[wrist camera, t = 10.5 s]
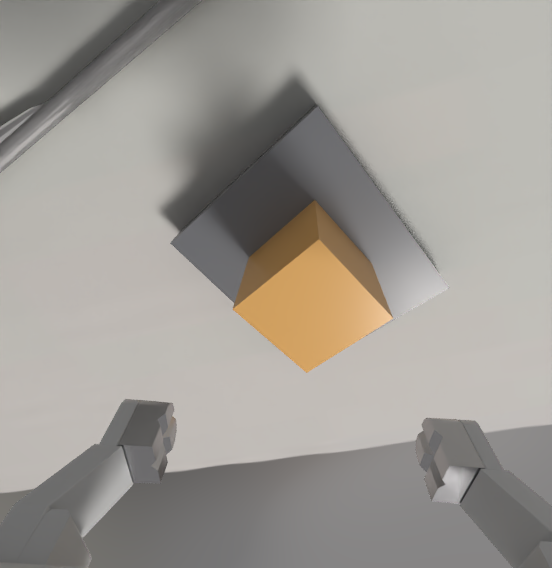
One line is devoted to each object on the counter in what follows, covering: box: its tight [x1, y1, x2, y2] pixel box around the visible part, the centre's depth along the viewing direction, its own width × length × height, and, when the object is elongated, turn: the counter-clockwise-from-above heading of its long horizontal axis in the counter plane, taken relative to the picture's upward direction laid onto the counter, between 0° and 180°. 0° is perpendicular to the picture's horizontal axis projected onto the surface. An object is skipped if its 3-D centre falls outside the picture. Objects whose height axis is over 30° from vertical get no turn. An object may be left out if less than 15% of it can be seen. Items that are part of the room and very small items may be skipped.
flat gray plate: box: [171, 104, 450, 339], centre depth 21 cm, size 12×14×6 cm
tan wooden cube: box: [233, 200, 393, 373], centre depth 19 cm, size 6×6×6 cm
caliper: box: [0, 0, 202, 173], centre depth 20 cm, size 29×2×5 cm
